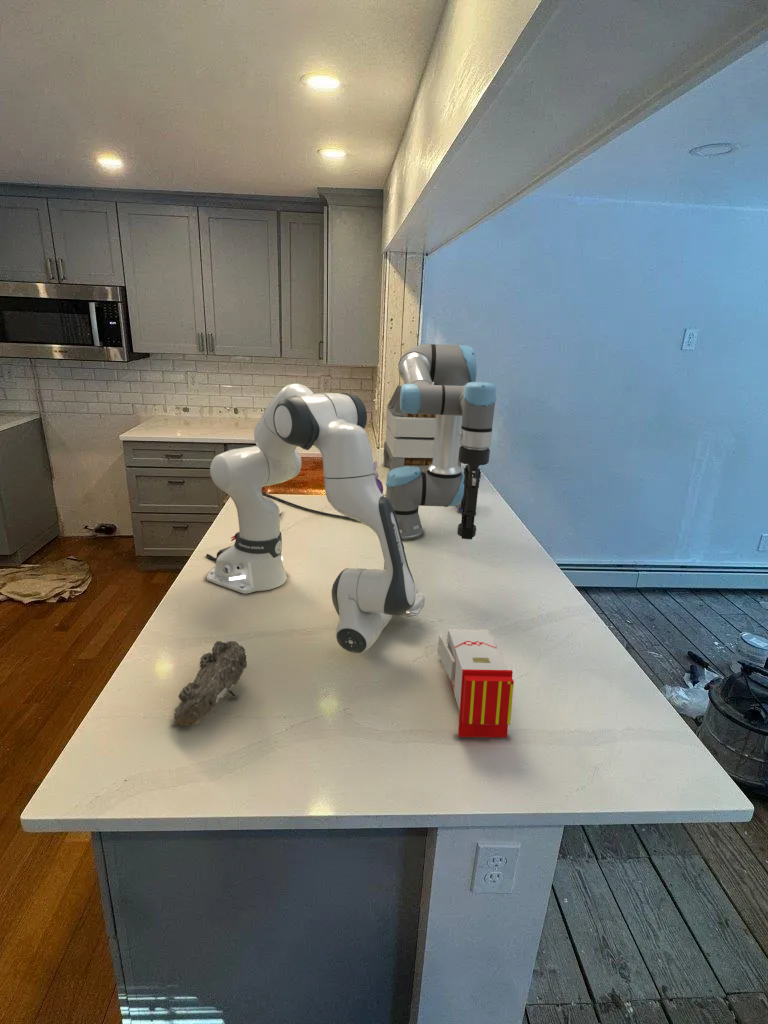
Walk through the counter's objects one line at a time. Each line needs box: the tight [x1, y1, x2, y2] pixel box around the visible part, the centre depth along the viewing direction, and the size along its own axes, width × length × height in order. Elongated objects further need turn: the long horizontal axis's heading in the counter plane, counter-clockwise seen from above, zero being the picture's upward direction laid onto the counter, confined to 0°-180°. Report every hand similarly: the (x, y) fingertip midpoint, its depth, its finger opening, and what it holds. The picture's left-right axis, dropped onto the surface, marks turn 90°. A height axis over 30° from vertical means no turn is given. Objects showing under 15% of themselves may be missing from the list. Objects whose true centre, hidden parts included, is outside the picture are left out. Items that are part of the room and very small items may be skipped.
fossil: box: [173, 640, 248, 727], centre depth 113 cm, size 22×10×15 cm
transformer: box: [383, 384, 462, 472], centre depth 268 cm, size 34×33×41 cm
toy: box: [437, 628, 515, 738], centre depth 117 cm, size 12×13×30 cm
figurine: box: [373, 460, 384, 495], centre depth 235 cm, size 9×10×15 cm
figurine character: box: [455, 498, 465, 513], centre depth 227 cm, size 7×8×15 cm
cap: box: [456, 522, 477, 538], centre depth 147 cm, size 5×5×2 cm
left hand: (393, 584), depth 149 cm, fingers closed on bottle, 5 cm apart
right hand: (466, 534), depth 147 cm, fingers closed on cap, 4 cm apart
